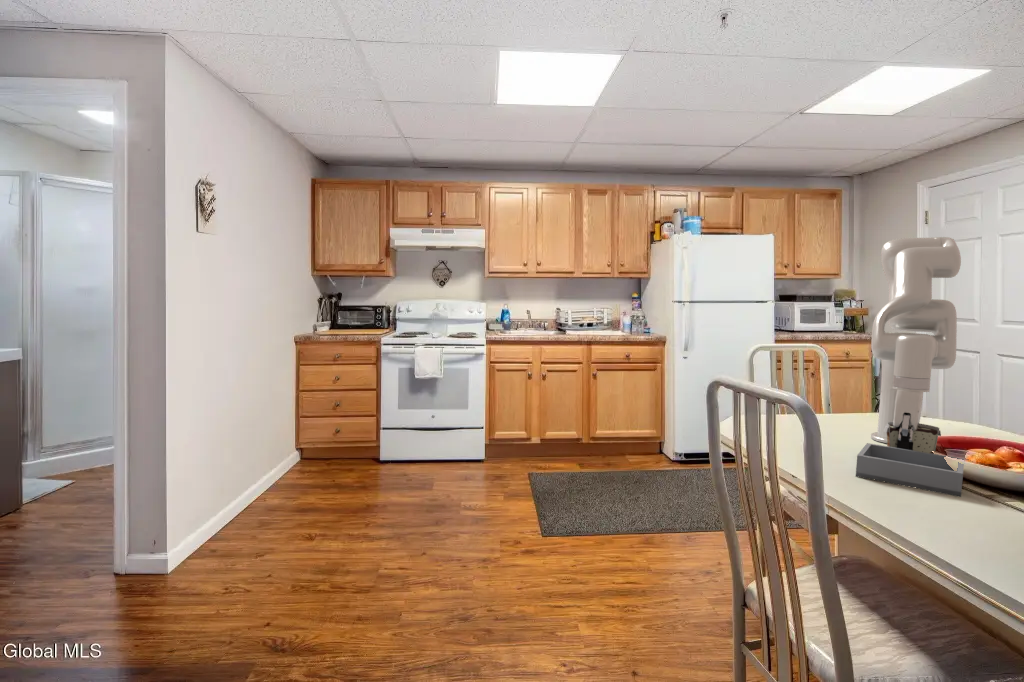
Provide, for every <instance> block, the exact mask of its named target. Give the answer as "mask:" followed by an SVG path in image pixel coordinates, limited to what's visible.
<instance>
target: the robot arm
mask: <svg viewBox="0 0 1024 682" xmlns="http://www.w3.org/2000/svg"><path fill="white" fill-rule="evenodd" d="M880 253H881V254H880V260H881V265H882V266H881V267H882V271H883V273H884V276H885V278H886V281H887V284H888V302H887V303H886V304H885V305H884V306H882V308H881V309H880V310H879V311H878V312H877V314H876V315H875V317H874V320H873V323H872V328H871V329H872V331H871V353H872V355H873V356H874V358H875V359H878V360H880V362H881V382H880V395H879V409H878V423H877V432H872V433H871V434H870V438H871V439H872V440H874V441H877V442H879V443H884V444H887V433H885V432H884V428H885V425H887V423H888V422H893V428H895V429H896V427H899V425H900V428H899V437H898V440H897V448H901V449H907V450H913V442H912V437H913V431H915V430H917V428H918V426H919V423H920V422H921V418H922V410H923V399H924V398H923V397H924V393H928V392H929V393H930V390H931V389H930V387H931V376H932V375H931V374H932V370H947V369H950V368H952V367H953V366H954V365H955V363H956V359H957V331H958V330H957V325H958V323H957V321H958V320H957V319H958V318H957V309H956V306H955V305H954V303H953V302H952V301H950V300H946V299H940V298H939V299H932V298H933V294H932V293H933V288H932V286H933V285H932V284H933V282H932V281H933V279H939V278H940V279H948V278H953V277H956V276H957V275H958V274H959V273H960V269H961V265H962V264H961V263H962V257H961V251H960V249H959V246H958V245H957V242H956V240H954V239H953V238H952V237H948V236H946V237H945V236H943V237H942V236H938V237H937V236H935V237H933V236H932V237H931V236H930V237H903V238H895V239H891V240H888V241H887V242H885V243H884V244H883V245H882V248H881V252H880ZM887 322H888V325H889V327H890V328H891V329H893V330H895V332H894V331H890V332H889V331H885V327H886V324H887ZM897 331H902V332H897ZM904 331H905V332H904ZM913 332H916V333H913ZM917 332H919V333H917ZM920 332H921V333H920ZM927 333H931V334H932V335H931V334H927ZM908 428H911V429H908ZM909 432H910V433H909Z"/></svg>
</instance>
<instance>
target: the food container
mask: <svg viewBox="0 0 1024 682" xmlns="http://www.w3.org/2000/svg"><path fill="white" fill-rule="evenodd" d="M899 428H900V425H899V427H896V429H895V428H893V422H888V423H887V425H885V428H884V432H885V433H887V443H886V445H887V446H889V447H895V448H897V440H898V437H899ZM908 429H911V428H908ZM909 433H910V432H909ZM939 437H942V432H941V430H940V427H938V426H935V425H929V424H925V423H920V422H919V426H918V428H917V430H915V431H913V437H912V442H913V451H920V452H926V453H932V454H934V453H933V452H932V451H935V452H936V447H937V444H938V443H937V442H938V438H939Z"/></svg>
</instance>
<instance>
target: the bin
mask: <svg viewBox="0 0 1024 682" xmlns="http://www.w3.org/2000/svg"><path fill="white" fill-rule="evenodd" d="M946 456H948V457H951V458H957V459H962V460H964V461H965V458H962V457H957V456H950V455H943V454H939V453H938V454H937V453H935V454H932V453H926V452H920V451H913V450H907V449H901V448H895V447H889V446H886V445H881V444H875V443H869V442H867V443H865V445H864V446H863V448H862V449H861V450H860V451H859V452H858V454H857V455H856V467H855V477H856V476H859V478H862V477H864V478H863V479H867V478H870V479H869V480H872V479H875V480H874V481H877V480H879V481H878V482H882V481H885V482H884V483H887V482H889V483H888V484H892V483H894V484H893V485H897V484H899V485H898V486H902V485H905V486H904V487H908V486H910V487H909V488H913V487H916V488H915V489H918V488H920V489H919V490H923V489H926V490H925V491H928V490H930V491H929V492H933V491H934V492H935V493H939V494H944V495H950V496H954V497H960V498H962V492H963V491H962V490H963V489H962V487H963V478H964V465H965V463H964V464H961V463H959V462H958V468H957V471H954V470H953V469H952V468H951V467H950V466H949V465H948V464H947V462H946V460H945V459H944V457H946Z"/></svg>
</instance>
